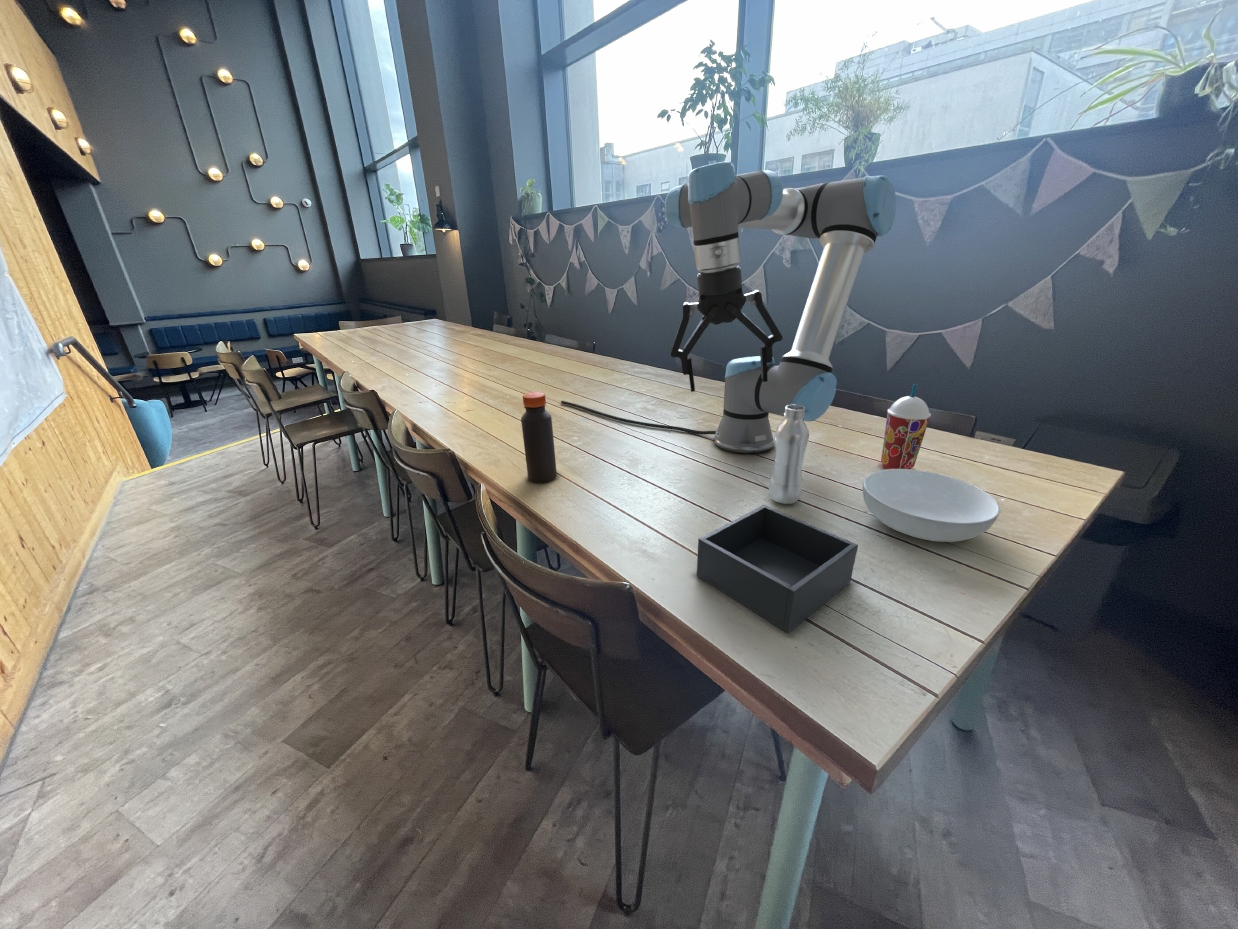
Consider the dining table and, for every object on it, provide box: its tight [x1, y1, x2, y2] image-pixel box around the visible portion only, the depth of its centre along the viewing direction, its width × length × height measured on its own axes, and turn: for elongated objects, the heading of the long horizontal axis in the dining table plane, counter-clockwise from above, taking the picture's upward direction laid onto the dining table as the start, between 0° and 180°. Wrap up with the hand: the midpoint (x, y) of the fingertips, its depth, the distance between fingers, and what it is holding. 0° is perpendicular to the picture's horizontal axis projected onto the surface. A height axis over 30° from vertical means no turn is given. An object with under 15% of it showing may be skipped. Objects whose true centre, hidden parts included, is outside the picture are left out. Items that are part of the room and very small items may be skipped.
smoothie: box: [880, 383, 932, 470], centre depth 106 cm, size 8×8×20 cm
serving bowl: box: [862, 468, 1001, 543], centre depth 85 cm, size 21×21×7 cm
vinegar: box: [520, 391, 558, 484], centre depth 107 cm, size 7×7×20 cm
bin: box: [696, 504, 859, 634], centre depth 72 cm, size 17×17×7 cm
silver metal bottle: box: [768, 405, 810, 505], centre depth 93 cm, size 6×7×20 cm
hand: (728, 384), depth 91 cm, fingers open, 13 cm apart
